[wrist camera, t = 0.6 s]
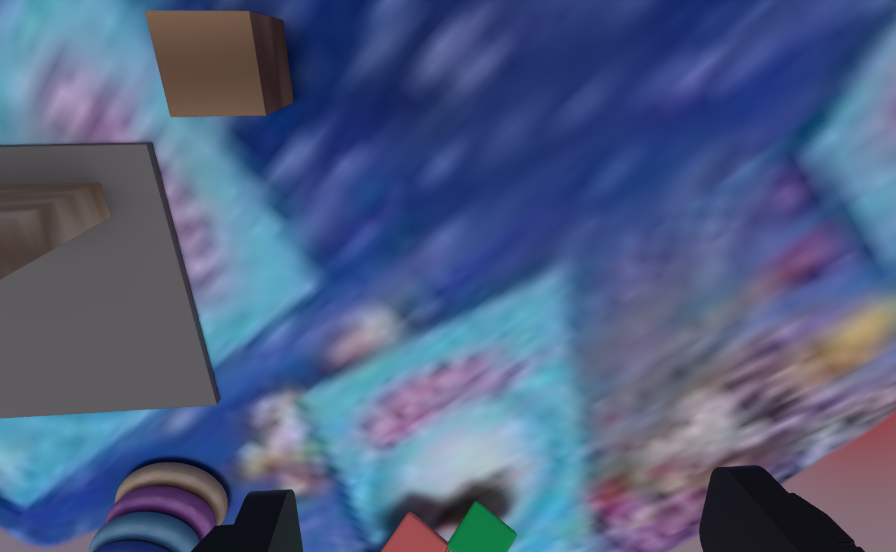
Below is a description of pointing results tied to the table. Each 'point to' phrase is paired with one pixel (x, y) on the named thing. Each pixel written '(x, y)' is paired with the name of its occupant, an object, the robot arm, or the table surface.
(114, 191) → the mat
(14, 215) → the tile
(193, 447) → the table surface
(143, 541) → the stacking toy
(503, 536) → the building blocks
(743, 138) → the table surface
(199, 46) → the block
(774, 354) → the table surface
